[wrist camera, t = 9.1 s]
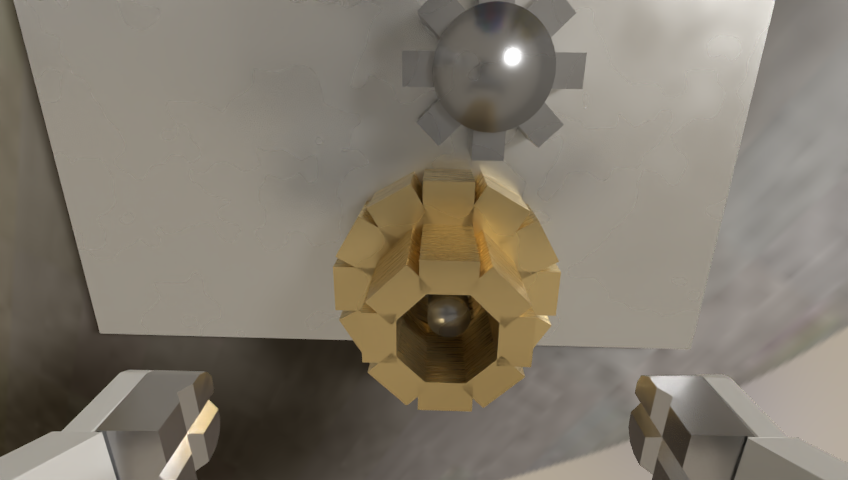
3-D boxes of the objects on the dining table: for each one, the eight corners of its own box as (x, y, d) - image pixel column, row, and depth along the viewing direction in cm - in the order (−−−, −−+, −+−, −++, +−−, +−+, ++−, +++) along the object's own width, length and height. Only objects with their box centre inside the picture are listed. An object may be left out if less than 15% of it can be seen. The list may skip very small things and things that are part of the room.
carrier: (120, 317, 19) (21, 393, 14) (-46, -376, 12) (-335, -644, 7) (674, 332, 18) (751, 416, 14) (836, -386, 11) (1092, -680, 7)
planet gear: (349, 352, 17) (319, 444, 13) (339, 167, 15) (300, 205, 11) (536, 357, 17) (568, 452, 13) (556, 171, 15) (605, 211, 11)
